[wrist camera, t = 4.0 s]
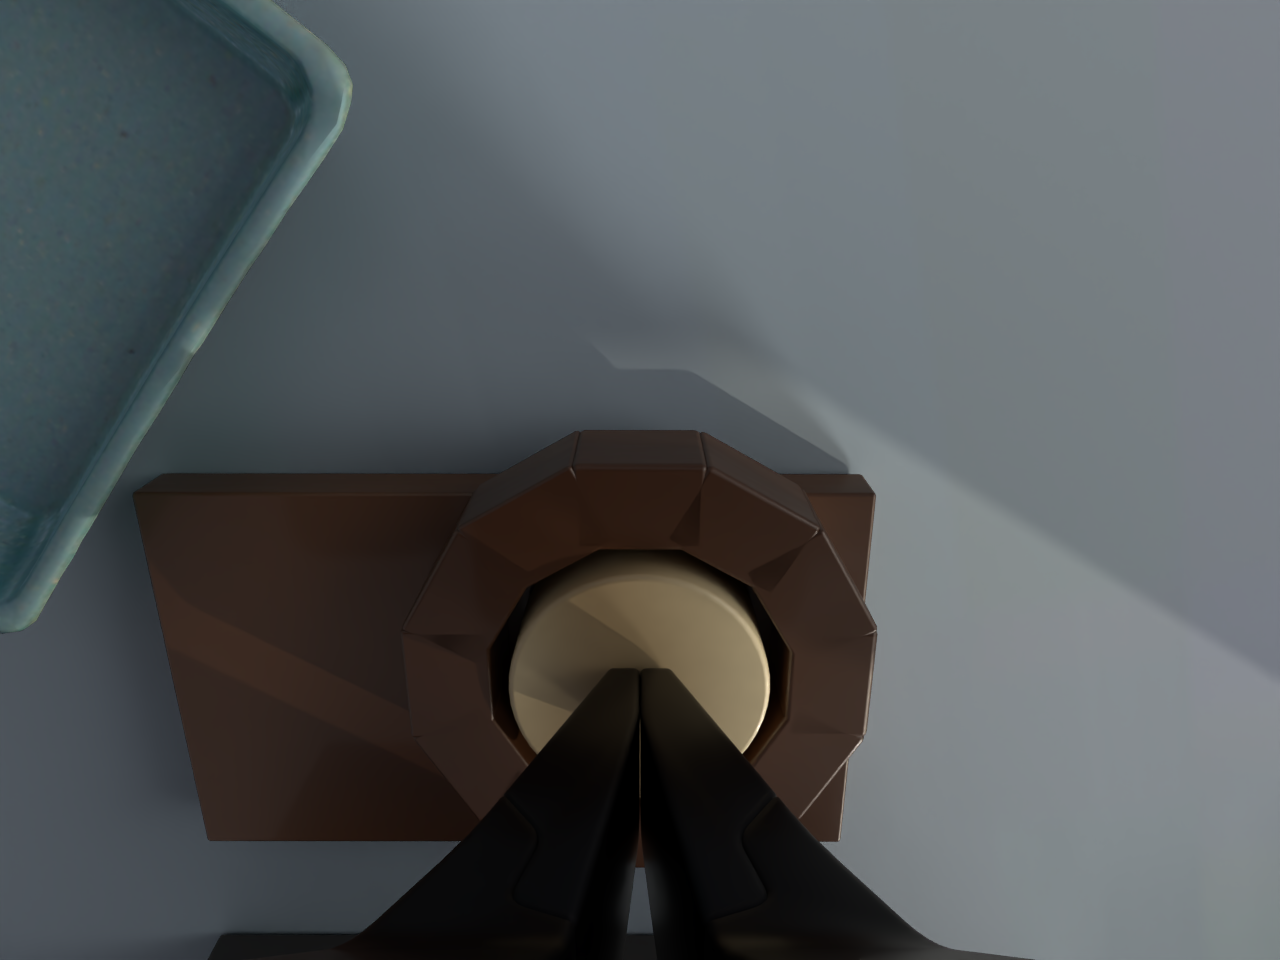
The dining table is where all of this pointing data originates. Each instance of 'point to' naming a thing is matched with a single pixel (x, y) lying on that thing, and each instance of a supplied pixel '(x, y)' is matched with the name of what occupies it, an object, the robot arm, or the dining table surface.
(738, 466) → the release block
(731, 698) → the release button
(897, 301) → the dining table surface
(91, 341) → the shallow long dish
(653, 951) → the black box
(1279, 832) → the dining table surface
